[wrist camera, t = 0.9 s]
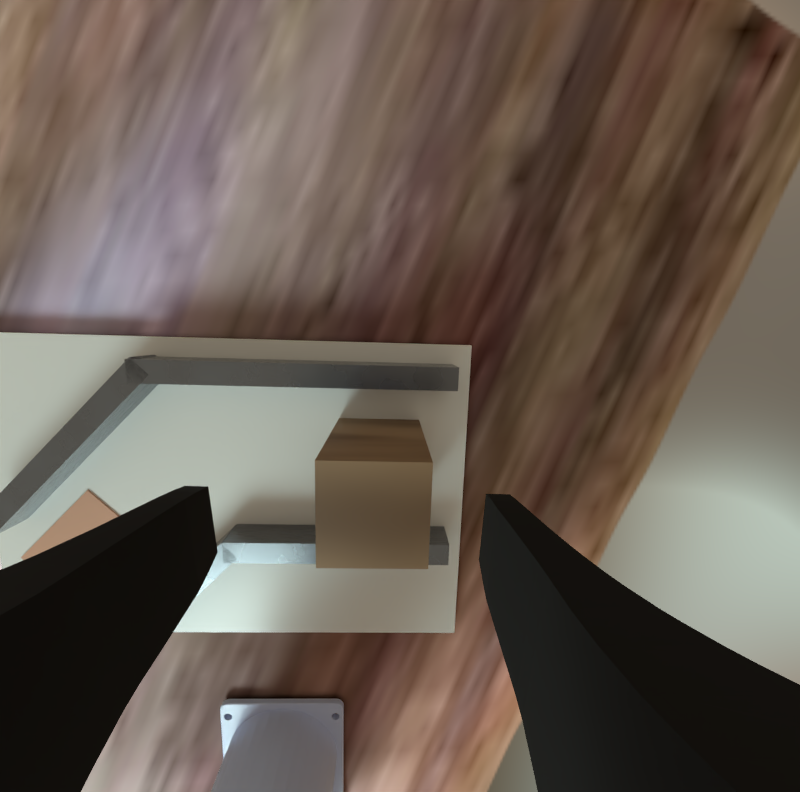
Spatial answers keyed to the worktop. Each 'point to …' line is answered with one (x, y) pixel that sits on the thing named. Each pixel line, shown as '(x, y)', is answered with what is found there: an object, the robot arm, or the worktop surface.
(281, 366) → the rails
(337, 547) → the walnut block
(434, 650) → the worktop surface
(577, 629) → the robot arm
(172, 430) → the channel board
